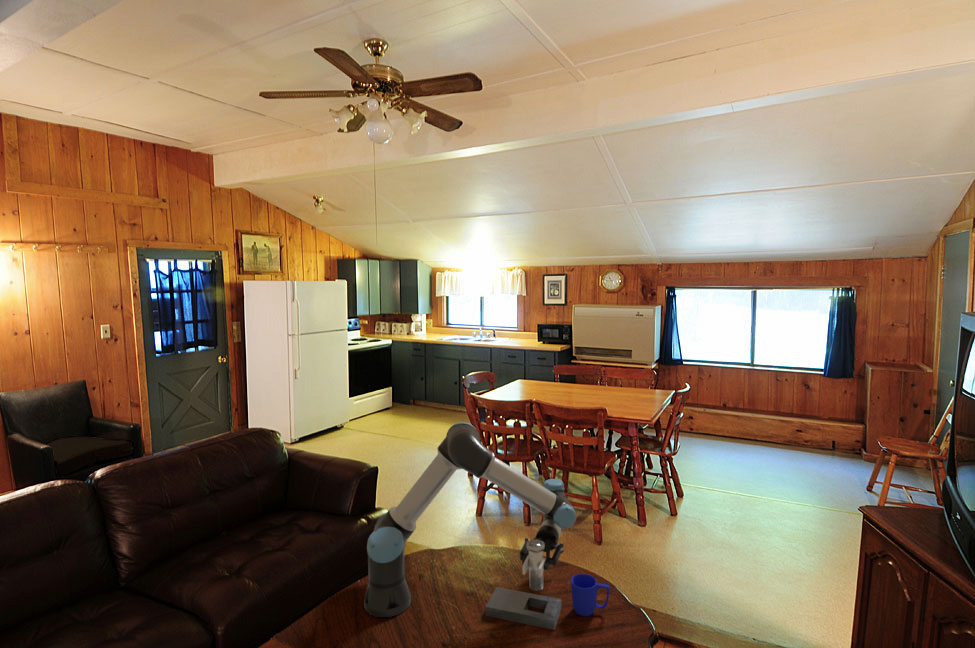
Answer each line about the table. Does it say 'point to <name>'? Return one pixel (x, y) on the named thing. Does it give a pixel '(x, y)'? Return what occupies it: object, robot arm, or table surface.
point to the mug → (586, 594)
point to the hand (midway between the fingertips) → (531, 571)
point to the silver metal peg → (535, 563)
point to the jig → (524, 608)
